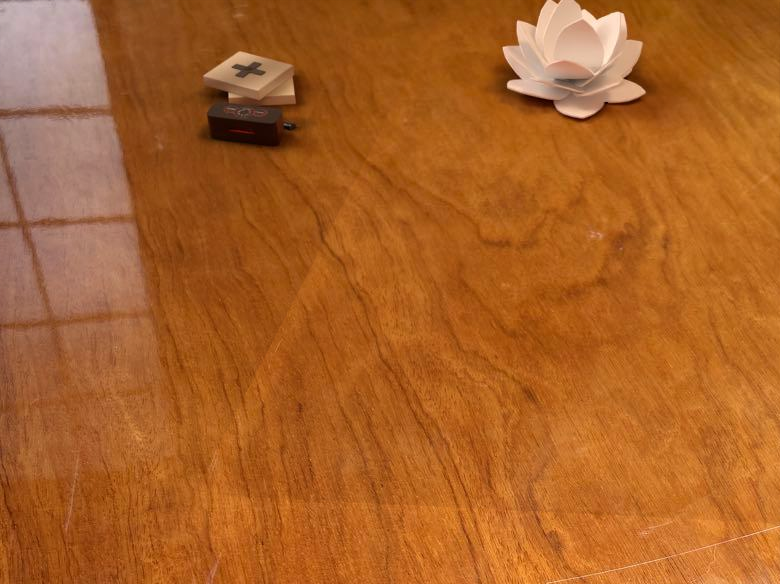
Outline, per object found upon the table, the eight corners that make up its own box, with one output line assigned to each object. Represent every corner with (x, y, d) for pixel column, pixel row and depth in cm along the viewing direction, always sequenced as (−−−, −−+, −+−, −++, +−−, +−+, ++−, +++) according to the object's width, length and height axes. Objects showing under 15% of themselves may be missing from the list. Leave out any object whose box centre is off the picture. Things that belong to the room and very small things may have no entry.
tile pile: (202, 114, 109) (196, 82, 107) (229, 78, 114) (224, 46, 112) (290, 125, 108) (286, 93, 106) (313, 88, 113) (310, 57, 111)
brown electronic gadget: (287, 159, 104) (283, 125, 101) (210, 149, 104) (204, 115, 102) (302, 134, 107) (299, 100, 105) (227, 125, 108) (222, 91, 105)
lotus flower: (640, 54, 122) (654, -28, 115) (644, 140, 113) (659, 57, 106) (503, 41, 121) (508, -42, 114) (496, 127, 112) (501, 43, 105)
